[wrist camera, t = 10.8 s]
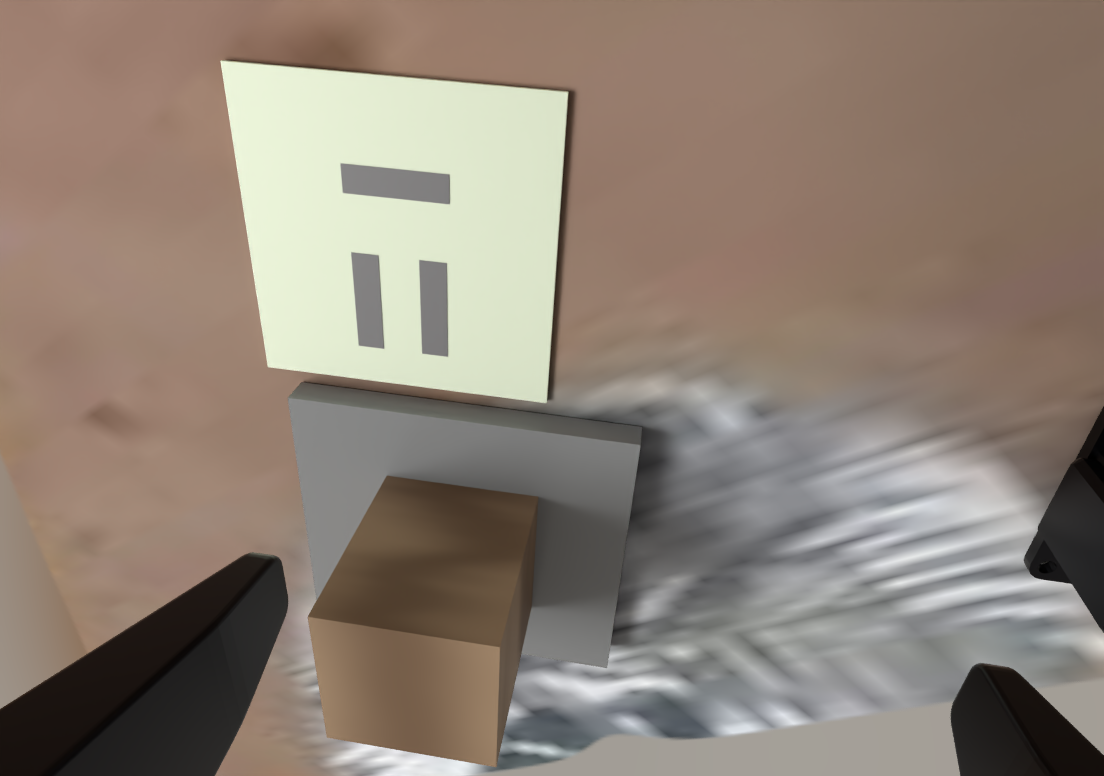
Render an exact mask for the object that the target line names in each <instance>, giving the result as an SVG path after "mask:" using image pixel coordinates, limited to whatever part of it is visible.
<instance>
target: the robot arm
mask: <svg viewBox="0 0 1104 776" xmlns="http://www.w3.org/2000/svg"><path fill="white" fill-rule="evenodd" d="M1045 561H1049V562H1047V563H1045V564H1041V563H1043V562H1045ZM1024 563H1025V565H1026V567H1027V569H1028V570H1029V572H1030V574H1031V575H1032V576H1034V577H1035V578H1038V579H1043V580H1050V581H1057V582H1064V583H1071V584H1072V585H1073V586H1074V588H1075V589H1076V591H1077V592H1078V594H1079V596H1080V597H1081V599H1082V600H1083V602H1084V603H1085V605H1086V607H1087V608H1088V610H1089V611H1090V613H1091V614H1092V616H1093V618H1094V619H1095V621H1096V622H1097V624H1098V625H1099V627H1100V628H1101V630H1102V631H1103V633H1104V407H1103V409H1102V411H1101V412H1100V414H1099V416H1098V418H1097V420H1096V422H1095V424H1094V426H1093V428H1092V430H1091V431H1090V433H1089V435H1088V437H1087V439H1086V441H1085V443H1084V445H1083V447H1082V448H1081V450H1080V452H1079V454H1078V456H1077V458H1076V460H1075V461H1074V462H1073V463H1072V464H1071V465H1070V467H1069V469H1068V470H1067V472H1066V474H1065V476H1064V478H1063V480H1062V482H1061V484H1060V486H1059V488H1058V489H1057V491H1056V493H1055V495H1054V497H1053V499H1052V501H1051V503H1050V505H1049V507H1048V508H1047V510H1046V512H1045V514H1044V516H1043V518H1042V520H1041V522H1040V524H1039V526H1038V532H1037V534H1036V536H1035V538H1034V539H1033V541H1032V543H1031V545H1030V547H1029V549H1028V551H1027V553H1026V555H1025V557H1024ZM287 608H288V594H287V589H286V583H285V577H284V571H283V566H282V562H281V560H280V559H279V558H278V557H277V556H274V555H268V554H261V553H254V552H252V553H248V554H245V555H243V556H242V557H240V558H238V559H237V560H235V561H234V562H232V563H231V564H229V565H227V566H226V567H224V568H223V569H221V570H219V571H218V572H216V573H215V574H213V575H212V576H210V577H208V578H207V579H205V580H204V581H202V582H200V583H199V584H197V585H196V586H194V587H193V588H191V589H189V590H188V591H186V592H185V593H183V594H181V595H180V596H178V597H177V598H175V599H174V600H172V601H170V602H169V603H167V604H166V605H164V606H162V607H161V608H159V609H158V610H156V611H155V612H153V613H151V614H150V615H148V616H147V617H145V618H143V619H142V620H140V621H139V622H137V623H136V624H134V625H132V626H131V627H129V628H128V629H126V630H124V631H123V632H121V633H120V634H118V635H117V636H115V637H113V638H112V639H110V640H109V641H107V642H105V643H104V644H102V645H101V646H99V647H98V648H96V649H94V650H93V651H91V652H90V653H88V654H86V655H85V656H83V657H82V658H80V659H79V660H77V661H76V662H74V663H72V664H71V665H69V666H67V667H66V668H64V669H63V670H61V671H60V672H58V673H56V674H55V675H53V676H52V677H50V678H49V679H47V680H45V681H44V682H42V683H41V684H39V685H38V686H36V687H34V688H33V689H31V690H30V691H28V692H26V693H25V694H23V695H22V696H20V697H18V698H17V699H16V700H14V701H12V702H11V703H9V704H7V705H6V706H4V707H3V708H1V709H0V776H215V775H216V773H217V771H218V769H219V767H220V765H221V763H222V761H223V759H224V757H225V756H226V754H227V752H228V750H229V748H230V746H231V744H232V742H233V740H234V738H235V736H236V734H237V732H238V730H239V728H240V726H241V724H242V722H243V720H244V718H245V715H246V713H247V711H248V708H249V706H250V704H251V701H252V699H253V696H254V694H255V691H256V689H257V686H258V684H259V681H260V679H261V676H262V674H263V671H264V669H265V666H266V664H267V661H268V659H269V656H270V654H271V651H272V649H273V646H274V644H275V641H276V639H277V636H278V634H279V631H280V629H281V626H282V624H283V621H284V619H285V616H286V613H287ZM951 726H952V731H953V737H954V742H955V748H956V754H957V759H958V765H959V770H960V776H1104V755H1103V754H1102V753H1101V752H1100V751H1099V750H1097V749H1096V748H1095V747H1094V746H1093V745H1092V744H1091V743H1090V742H1089V741H1088V740H1087V739H1086V738H1085V737H1084V736H1083V735H1082V734H1081V733H1080V732H1079V731H1078V730H1077V729H1076V728H1075V727H1074V726H1073V725H1072V724H1071V723H1070V722H1069V721H1067V719H1065V718H1064V717H1063V716H1062V715H1061V714H1060V713H1059V712H1058V711H1057V710H1056V709H1055V708H1054V707H1053V706H1052V705H1051V704H1050V703H1049V702H1048V701H1047V700H1046V699H1045V698H1044V697H1043V696H1042V695H1041V694H1040V693H1039V692H1038V691H1037V690H1036V689H1035V688H1033V687H1032V686H1031V685H1030V684H1029V683H1028V682H1027V681H1026V680H1025V679H1024V678H1023V677H1022V676H1021V675H1020V674H1019V673H1018V672H1016V671H1015V670H1013V669H1011V668H1009V667H1004V666H998V665H991V664H985V663H978V664H976V665H974V666H973V667H972V668H971V670H970V672H969V673H968V675H967V677H966V679H965V681H964V683H963V685H962V687H961V689H960V690H959V692H958V694H957V696H956V698H955V700H954V702H953V705H952V709H951Z"/></svg>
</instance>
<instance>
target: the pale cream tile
mask: <svg viewBox="0 0 1104 776" xmlns="http://www.w3.org/2000/svg"><path fill="white" fill-rule="evenodd" d="M221 67H222V74H223V80H224V86H225V93H226V99H227V106H228V112H229V119H230V125H231V132H232V138H233V145H234V151H235V157H236V164H237V170H238V177H239V183H240V190H241V196H242V203H243V209H244V216H245V222H246V228H247V235H248V241H249V248H250V254H251V261H252V267H253V274H254V280H255V287H256V293H257V299H258V306H259V312H260V319H261V325H262V332H263V338H264V345H265V351H266V358H267V364H268V367H272V368H280V369H288V370H295V371H303V372H311V373H318V374H326V375H334V376H341V377H349V378H357V379H364V380H372V381H380V382H387V383H395V384H403V385H410V386H418V387H426V388H434V389H441V390H449V391H457V392H464V393H472V394H480V395H487V396H495V397H503V398H510V399H518V400H526V401H533V402H541V403H547V396H548V382H549V368H550V353H551V339H552V324H553V310H554V296H555V281H556V267H557V252H558V238H559V224H560V209H561V195H562V180H563V166H564V152H565V137H566V123H567V108H568V94H569V91H560V90H549V89H538V88H527V87H515V86H504V85H493V84H482V83H471V82H460V81H449V80H438V79H427V78H416V77H405V76H394V75H383V74H372V73H361V72H349V71H338V70H327V69H316V68H305V67H294V66H283V65H272V64H261V63H250V62H239V61H228V60H222V61H221Z"/></svg>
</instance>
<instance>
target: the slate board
mask: <svg viewBox="0 0 1104 776" xmlns="http://www.w3.org/2000/svg"><path fill="white" fill-rule="evenodd" d="M288 403H289V410H290V417H291V424H292V431H293V438H294V445H295V452H296V459H297V466H298V473H299V480H300V487H301V494H302V501H303V508H304V515H305V522H306V529H307V536H308V543H309V550H310V557H311V564H312V571H313V578H314V585H315V592H316V599H318V597H319V596H320V594H321V592H322V590H323V589H324V587H325V585H326V583H327V581H328V580H329V578H330V576H331V574H332V572H333V571H334V569H335V567H336V565H337V564H338V562H339V560H340V558H341V556H342V555H343V553H344V551H345V549H346V547H347V546H348V544H349V542H350V540H351V538H352V537H353V535H354V533H355V531H356V530H357V528H358V526H359V524H360V522H361V521H362V519H363V517H364V515H365V513H366V512H367V510H368V508H369V506H370V505H371V503H372V501H373V499H374V497H375V496H376V494H377V492H378V490H379V488H380V487H381V485H382V483H383V481H384V480H385V478H386V476H393V477H401V478H408V479H415V480H422V481H429V482H437V483H444V484H451V485H458V486H465V487H473V488H480V489H487V490H494V491H502V492H509V493H516V494H523V495H530V496H538V512H537V529H536V545H535V561H534V577H533V593H532V608H531V612H530V617H529V621H528V626H527V630H526V635H525V639H524V644H523V648H522V653H521V654H524V655H530V656H536V657H542V658H548V659H555V660H561V661H567V662H573V663H579V664H585V665H591V666H598V667H604V668H607V665H608V658H609V651H610V645H611V638H612V632H613V625H614V618H615V612H616V605H617V599H618V592H619V585H620V579H621V572H622V566H623V559H624V552H625V546H626V539H627V533H628V526H629V519H630V513H631V506H632V500H633V493H634V486H635V480H636V473H637V467H638V460H639V453H640V447H641V435H642V427H639V426H632V425H624V424H616V423H609V422H601V421H594V420H586V419H578V418H571V417H563V416H556V415H548V414H540V413H533V412H525V411H518V410H510V409H502V408H495V407H487V406H480V405H472V404H464V403H457V402H449V401H442V400H434V399H426V398H419V397H411V396H404V395H396V394H388V393H381V392H373V391H366V390H358V389H351V388H343V387H335V386H328V385H320V384H313V383H305V382H301V383H300V385H299V386H298V387H297V388H296V389H295V390H294V391H293V393H292V394H291V395H290V396H289V397H288Z"/></svg>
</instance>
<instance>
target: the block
mask: <svg viewBox="0 0 1104 776" xmlns="http://www.w3.org/2000/svg"><path fill="white" fill-rule="evenodd" d="M537 512H538V496H530V495H523V494H516V493H509V492H502V491H494V490H487V489H480V488H473V487H465V486H458V485H451V484H444V483H437V482H429V481H422V480H415V479H408V478H401V477H393V476H386V478H385V480H384V481H383V483H382V485H381V487H380V488H379V490H378V492H377V494H376V496H375V497H374V499H373V501H372V503H371V505H370V506H369V508H368V510H367V512H366V513H365V515H364V517H363V519H362V521H361V522H360V524H359V526H358V528H357V530H356V531H355V533H354V535H353V537H352V538H351V540H350V542H349V544H348V546H347V547H346V549H345V551H344V553H343V555H342V556H341V558H340V560H339V562H338V564H337V565H336V567H335V569H334V571H333V572H332V574H331V576H330V578H329V580H328V581H327V583H326V585H325V587H324V589H323V590H322V592H321V594H320V596H319V597H318V599H317V601H316V603H315V605H314V606H313V608H312V610H311V612H310V614H309V615H308V622H309V628H310V634H311V641H312V647H313V653H314V659H315V666H316V672H317V678H318V684H319V691H320V697H321V703H322V709H323V716H324V722H325V728H326V734H327V738H333V739H339V740H344V741H350V742H356V743H362V744H367V745H373V746H379V747H385V748H390V749H396V750H402V751H407V752H413V753H419V754H425V755H430V756H436V757H442V758H447V759H453V760H459V761H465V762H470V763H476V764H482V765H487V766H493V767H496V766H497V761H498V757H499V752H500V748H501V743H502V739H503V734H504V730H505V725H506V721H507V716H508V712H509V707H510V703H511V698H512V694H513V689H514V685H515V680H516V676H517V671H518V667H519V662H520V657H521V653H522V648H523V644H524V639H525V635H526V630H527V626H528V621H529V617H530V612H531V608H532V593H533V577H534V561H535V545H536V529H537Z"/></svg>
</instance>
